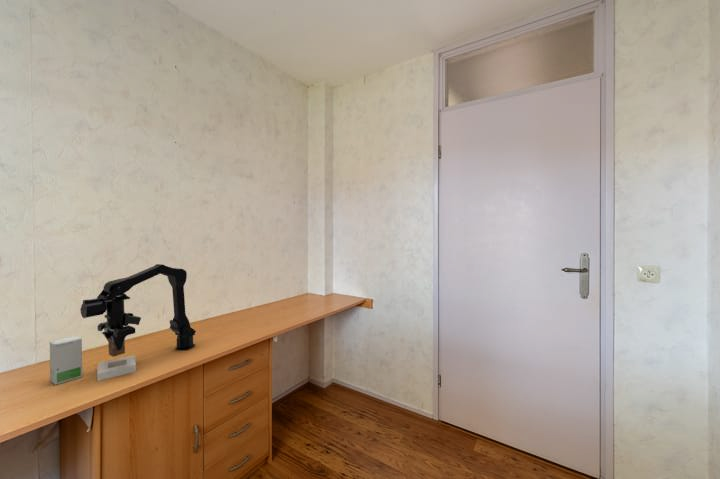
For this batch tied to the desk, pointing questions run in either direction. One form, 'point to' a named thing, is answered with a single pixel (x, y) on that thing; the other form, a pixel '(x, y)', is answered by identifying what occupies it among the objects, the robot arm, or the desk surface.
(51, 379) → the skincare box
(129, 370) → the socket
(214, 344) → the desk surface
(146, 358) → the desk surface
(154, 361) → the desk surface
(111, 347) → the peg
